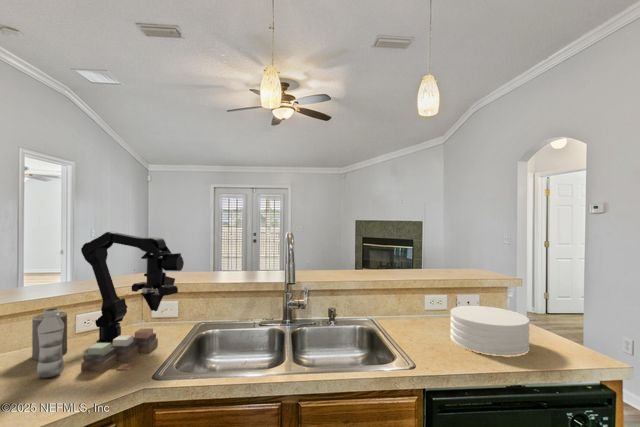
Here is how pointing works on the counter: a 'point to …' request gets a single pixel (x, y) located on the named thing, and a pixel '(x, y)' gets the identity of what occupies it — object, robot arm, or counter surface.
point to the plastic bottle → (50, 344)
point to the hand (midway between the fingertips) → (154, 310)
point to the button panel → (119, 355)
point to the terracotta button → (144, 333)
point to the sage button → (99, 349)
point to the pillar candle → (35, 338)
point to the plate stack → (490, 330)
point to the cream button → (123, 340)
